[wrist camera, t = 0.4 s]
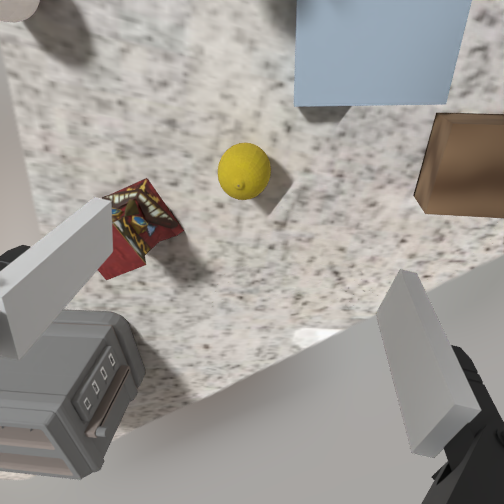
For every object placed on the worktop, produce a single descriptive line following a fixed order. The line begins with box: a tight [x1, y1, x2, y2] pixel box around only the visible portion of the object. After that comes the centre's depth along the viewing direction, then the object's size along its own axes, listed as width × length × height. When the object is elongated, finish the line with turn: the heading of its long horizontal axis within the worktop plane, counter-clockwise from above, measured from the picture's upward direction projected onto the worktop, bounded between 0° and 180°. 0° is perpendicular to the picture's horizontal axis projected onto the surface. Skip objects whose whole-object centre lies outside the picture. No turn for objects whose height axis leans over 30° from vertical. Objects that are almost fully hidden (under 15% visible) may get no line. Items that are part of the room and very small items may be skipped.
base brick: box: [294, 0, 472, 107], centre depth 31 cm, size 10×14×3 cm
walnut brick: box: [413, 113, 504, 218], centre depth 35 cm, size 9×12×5 cm
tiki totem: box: [98, 178, 184, 280], centre depth 42 cm, size 9×9×9 cm
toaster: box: [0, 310, 145, 480], centre depth 55 cm, size 17×31×19 cm, turn 94°
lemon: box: [218, 143, 271, 200], centre depth 36 cm, size 6×6×8 cm
